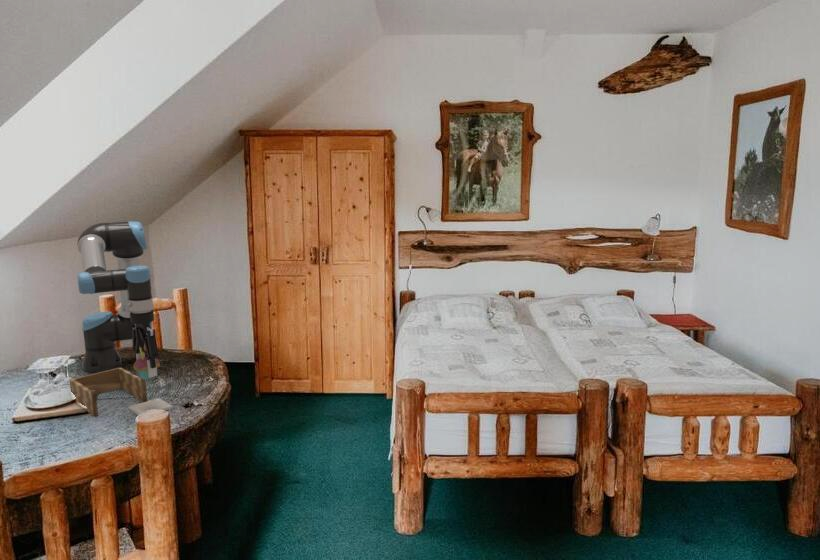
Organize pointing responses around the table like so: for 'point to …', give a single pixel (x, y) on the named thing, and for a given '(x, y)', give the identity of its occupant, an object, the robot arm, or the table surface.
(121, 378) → the brown open-sided frame
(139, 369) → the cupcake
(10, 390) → the table surface
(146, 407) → the plate
